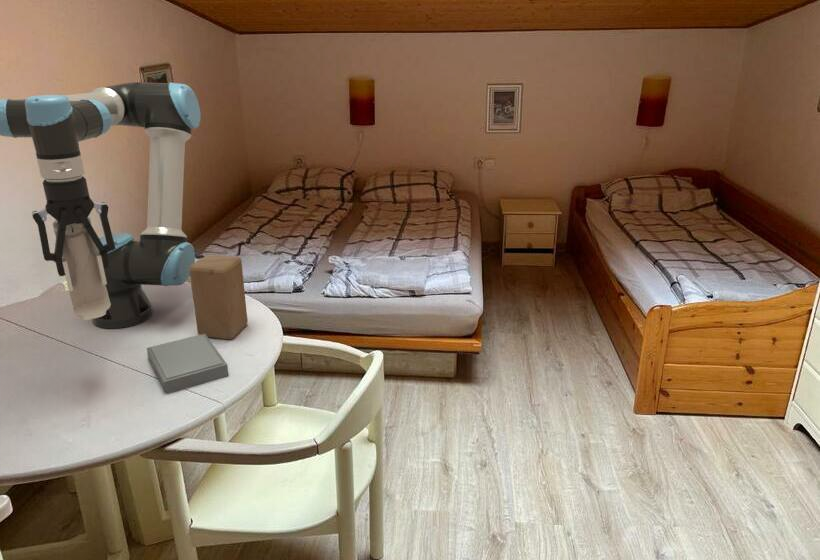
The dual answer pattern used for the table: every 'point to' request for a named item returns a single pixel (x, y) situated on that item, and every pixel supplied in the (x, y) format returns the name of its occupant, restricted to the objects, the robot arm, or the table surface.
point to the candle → (84, 272)
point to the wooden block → (218, 296)
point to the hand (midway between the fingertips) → (87, 285)
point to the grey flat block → (186, 363)
